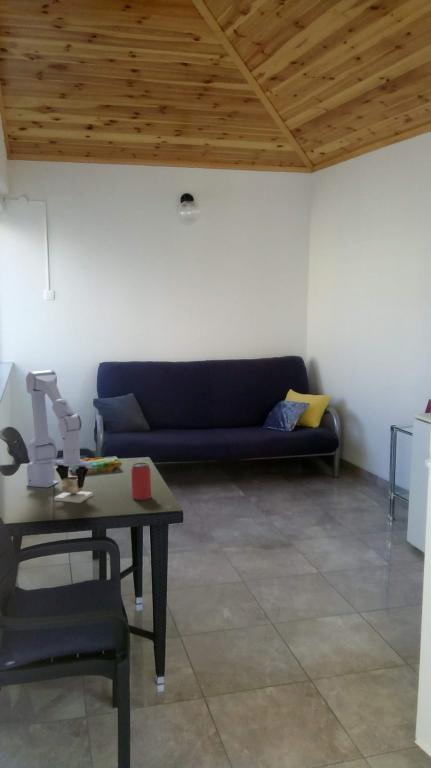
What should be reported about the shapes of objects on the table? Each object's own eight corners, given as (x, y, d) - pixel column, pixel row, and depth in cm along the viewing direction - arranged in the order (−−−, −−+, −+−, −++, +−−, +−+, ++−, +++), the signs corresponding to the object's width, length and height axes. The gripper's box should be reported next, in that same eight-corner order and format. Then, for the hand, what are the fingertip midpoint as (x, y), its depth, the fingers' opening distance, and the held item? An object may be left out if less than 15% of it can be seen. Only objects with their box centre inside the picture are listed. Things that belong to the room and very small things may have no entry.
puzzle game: (68, 459, 277) (115, 454, 283) (68, 470, 277) (116, 465, 284) (71, 465, 266) (121, 460, 272) (72, 477, 266) (121, 471, 273)
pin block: (54, 500, 234) (53, 487, 234) (68, 493, 243) (67, 480, 242) (79, 502, 231) (78, 489, 230) (92, 495, 239) (92, 482, 239)
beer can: (151, 499, 232) (150, 466, 231) (132, 501, 231) (131, 467, 230) (150, 494, 239) (149, 461, 237) (132, 495, 238) (130, 462, 236)
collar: (62, 492, 235) (61, 479, 234) (70, 487, 240) (70, 475, 239) (76, 493, 233) (75, 480, 232) (84, 489, 238) (83, 476, 237)
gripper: (47, 450, 233) (49, 488, 235) (83, 452, 228) (85, 491, 230) (58, 446, 240) (60, 483, 242) (93, 448, 235) (95, 485, 237)
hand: (73, 486), depth 236 cm, fingers closed on collar, 6 cm apart
